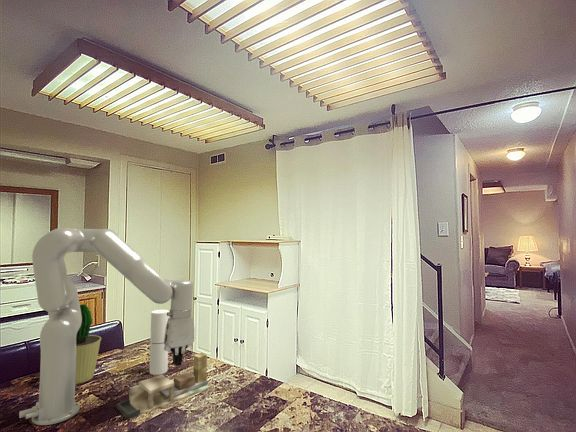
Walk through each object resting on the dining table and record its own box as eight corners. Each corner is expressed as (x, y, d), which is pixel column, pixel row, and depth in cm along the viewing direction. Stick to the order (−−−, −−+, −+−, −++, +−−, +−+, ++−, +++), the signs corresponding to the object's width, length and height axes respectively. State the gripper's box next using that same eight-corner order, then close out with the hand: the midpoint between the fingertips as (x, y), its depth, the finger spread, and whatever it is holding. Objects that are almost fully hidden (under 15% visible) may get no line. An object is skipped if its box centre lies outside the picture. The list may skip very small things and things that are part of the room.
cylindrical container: (155, 376, 135) (157, 314, 136) (146, 371, 139) (147, 311, 141) (170, 370, 141) (172, 311, 142) (161, 366, 145) (163, 308, 146)
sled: (166, 398, 115) (167, 367, 116) (159, 393, 119) (160, 363, 119) (208, 383, 127) (208, 355, 127) (200, 379, 131) (201, 351, 131)
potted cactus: (108, 371, 140) (110, 299, 141) (81, 388, 124) (85, 307, 126) (74, 369, 141) (77, 298, 143) (44, 385, 126) (47, 306, 128)
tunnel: (127, 419, 104) (127, 398, 104) (116, 408, 110) (117, 388, 111) (210, 388, 125) (210, 370, 125) (196, 380, 132) (197, 363, 132)
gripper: (166, 318, 115) (162, 373, 113) (203, 313, 125) (200, 362, 124) (156, 314, 120) (152, 366, 119) (193, 309, 131) (190, 357, 129)
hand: (177, 364), depth 121 cm, fingers closed
